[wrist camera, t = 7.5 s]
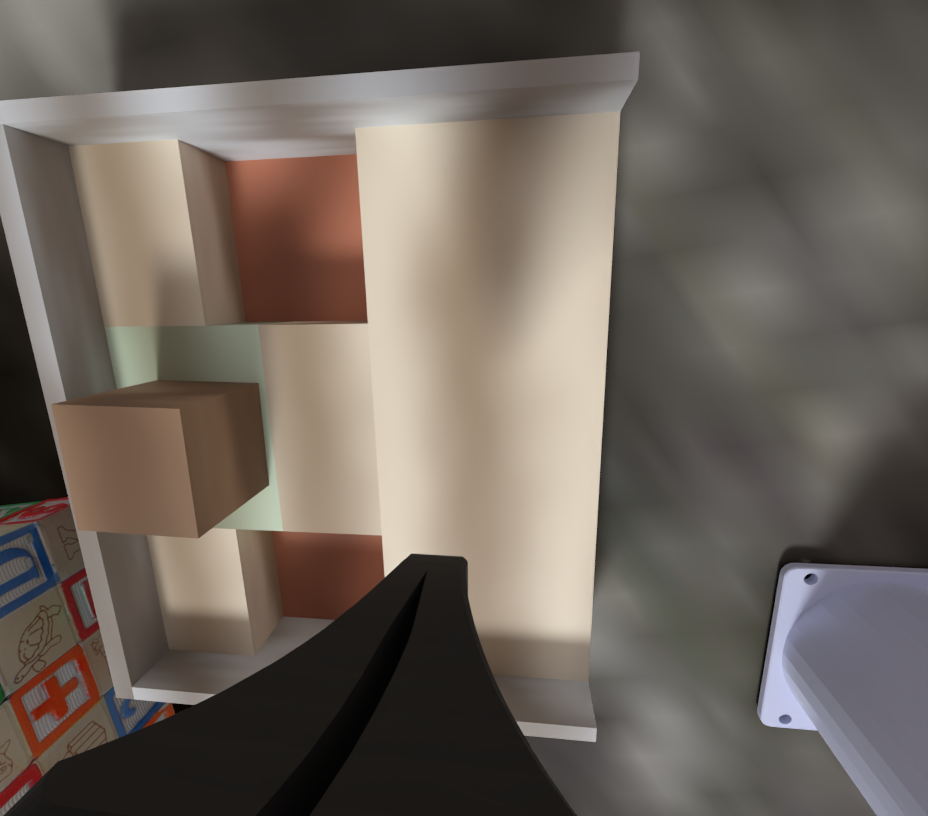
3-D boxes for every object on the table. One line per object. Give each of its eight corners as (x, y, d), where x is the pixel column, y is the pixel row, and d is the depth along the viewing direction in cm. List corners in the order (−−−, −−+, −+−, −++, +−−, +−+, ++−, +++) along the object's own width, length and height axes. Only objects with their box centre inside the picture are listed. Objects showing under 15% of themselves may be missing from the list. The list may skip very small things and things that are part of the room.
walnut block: (258, 382, 16) (179, 409, 13) (269, 485, 17) (198, 538, 14) (157, 380, 17) (50, 404, 13) (173, 479, 18) (78, 530, 14)
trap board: (602, 126, 16) (640, 51, 11) (577, 639, 21) (595, 741, 16) (118, 154, 18) (-27, 102, 13) (200, 614, 23) (116, 697, 18)
